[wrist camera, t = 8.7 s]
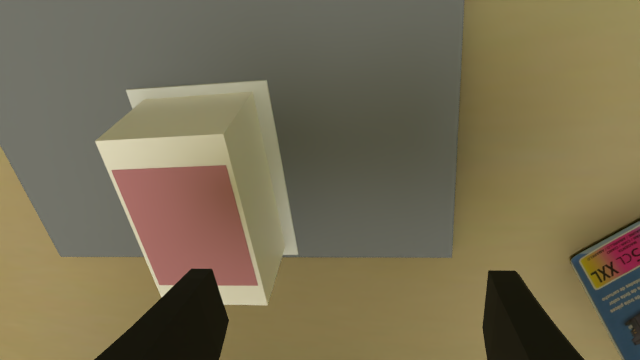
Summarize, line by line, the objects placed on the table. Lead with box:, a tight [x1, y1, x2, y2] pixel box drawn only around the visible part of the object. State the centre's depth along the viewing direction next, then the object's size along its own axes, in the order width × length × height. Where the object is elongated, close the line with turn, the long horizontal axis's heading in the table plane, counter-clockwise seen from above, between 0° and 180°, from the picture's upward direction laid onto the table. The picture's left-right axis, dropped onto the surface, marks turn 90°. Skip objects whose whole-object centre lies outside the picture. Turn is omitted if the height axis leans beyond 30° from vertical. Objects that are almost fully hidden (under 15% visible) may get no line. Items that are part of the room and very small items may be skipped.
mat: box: [0, 0, 464, 258], centre depth 20 cm, size 18×22×1 cm
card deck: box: [95, 92, 285, 305], centre depth 20 cm, size 5×8×4 cm, turn 7°
